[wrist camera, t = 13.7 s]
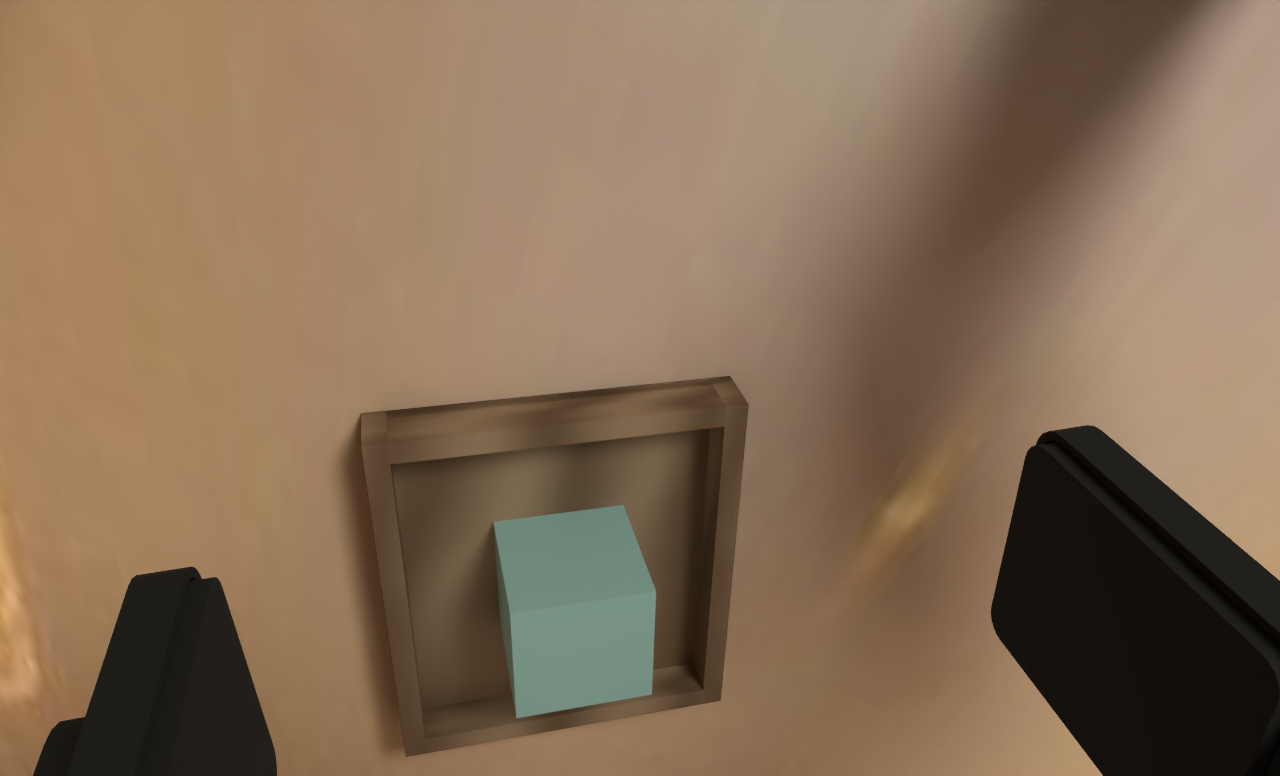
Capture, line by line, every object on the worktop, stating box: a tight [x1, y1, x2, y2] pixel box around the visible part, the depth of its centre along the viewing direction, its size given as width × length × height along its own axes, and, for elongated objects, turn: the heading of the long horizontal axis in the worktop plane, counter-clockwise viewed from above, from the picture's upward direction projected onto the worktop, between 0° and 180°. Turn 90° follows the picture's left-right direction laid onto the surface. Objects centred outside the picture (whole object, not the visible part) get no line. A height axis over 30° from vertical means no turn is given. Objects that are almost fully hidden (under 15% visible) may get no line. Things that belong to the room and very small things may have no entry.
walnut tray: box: [361, 376, 749, 757], centre depth 45 cm, size 16×18×2 cm
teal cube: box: [493, 505, 656, 718], centre depth 43 cm, size 6×6×6 cm
